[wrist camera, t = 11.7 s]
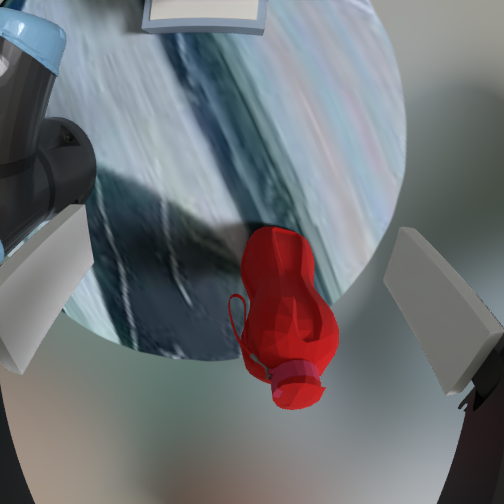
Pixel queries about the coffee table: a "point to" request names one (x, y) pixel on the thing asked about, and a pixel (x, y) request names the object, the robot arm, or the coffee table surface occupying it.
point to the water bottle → (285, 318)
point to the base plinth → (205, 16)
